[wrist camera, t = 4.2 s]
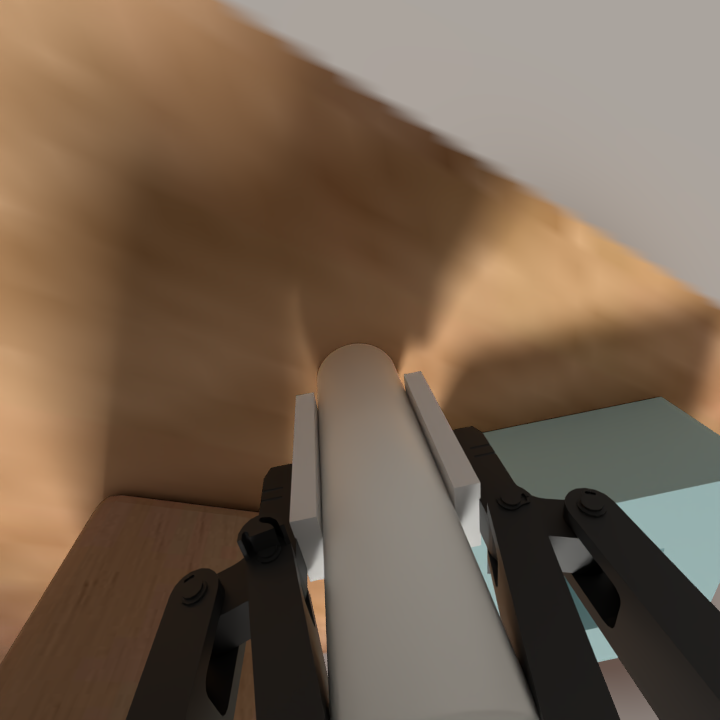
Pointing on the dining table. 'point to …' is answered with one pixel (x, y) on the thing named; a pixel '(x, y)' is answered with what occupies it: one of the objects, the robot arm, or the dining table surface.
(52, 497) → the dining table surface
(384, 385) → the peg
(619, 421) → the socket
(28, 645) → the wooden block
